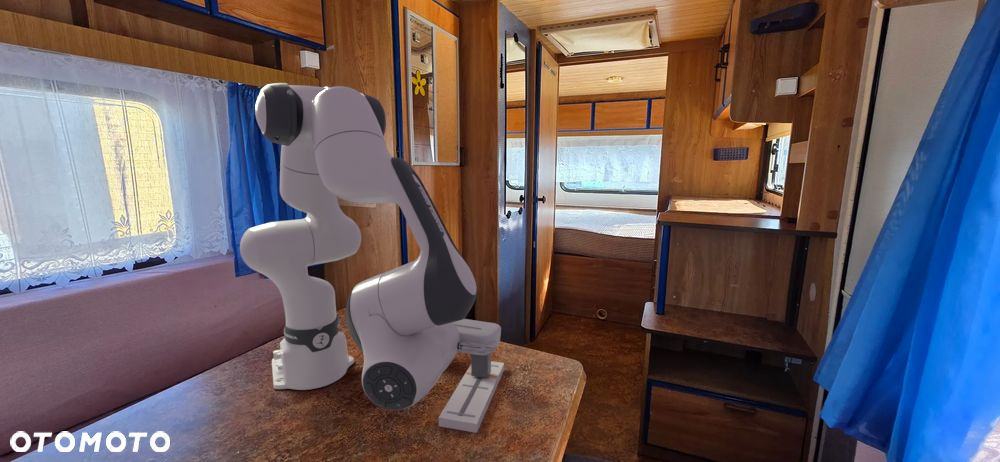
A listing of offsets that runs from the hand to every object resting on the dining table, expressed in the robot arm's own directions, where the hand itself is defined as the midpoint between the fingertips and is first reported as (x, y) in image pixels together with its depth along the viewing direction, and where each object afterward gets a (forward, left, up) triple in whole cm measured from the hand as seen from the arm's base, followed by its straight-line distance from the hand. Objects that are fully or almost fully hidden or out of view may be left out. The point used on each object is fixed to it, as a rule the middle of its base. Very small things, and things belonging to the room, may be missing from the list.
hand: (455, 317), depth 78 cm
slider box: (-4, +8, -22) cm, 24 cm away
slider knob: (-6, +12, -20) cm, 24 cm away
